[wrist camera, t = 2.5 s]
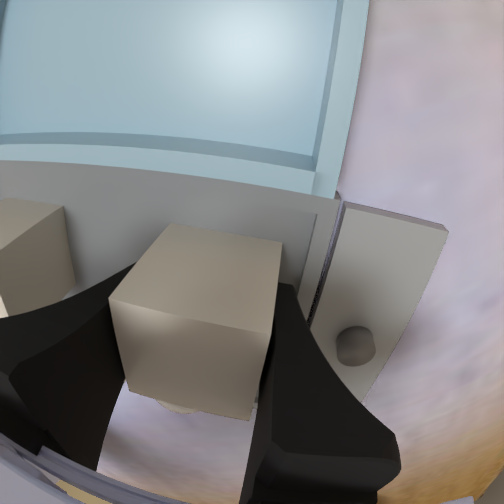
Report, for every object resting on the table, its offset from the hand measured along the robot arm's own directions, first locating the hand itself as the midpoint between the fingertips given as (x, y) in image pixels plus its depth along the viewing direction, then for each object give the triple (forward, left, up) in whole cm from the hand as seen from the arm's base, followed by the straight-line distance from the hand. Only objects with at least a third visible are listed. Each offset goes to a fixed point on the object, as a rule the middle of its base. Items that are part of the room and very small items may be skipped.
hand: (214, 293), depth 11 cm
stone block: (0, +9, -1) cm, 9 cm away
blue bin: (+9, +5, -1) cm, 10 cm away
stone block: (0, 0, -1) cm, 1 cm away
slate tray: (-2, +2, -1) cm, 3 cm away
